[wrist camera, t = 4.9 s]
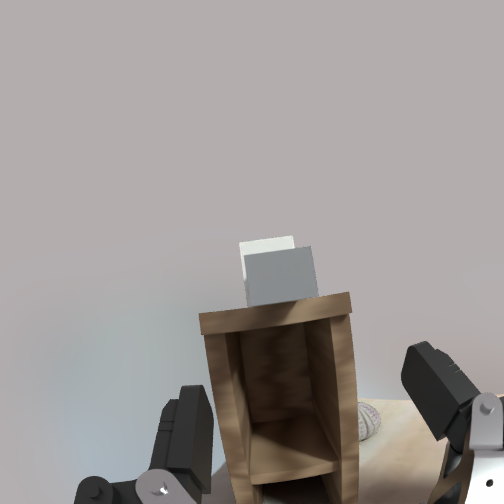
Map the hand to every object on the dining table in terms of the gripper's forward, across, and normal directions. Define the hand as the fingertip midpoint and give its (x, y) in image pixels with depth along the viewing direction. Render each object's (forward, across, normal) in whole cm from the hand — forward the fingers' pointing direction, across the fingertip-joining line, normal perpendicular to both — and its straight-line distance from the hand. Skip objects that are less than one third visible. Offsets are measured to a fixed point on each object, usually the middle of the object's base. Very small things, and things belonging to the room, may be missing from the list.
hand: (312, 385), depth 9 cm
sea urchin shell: (+24, -15, +48) cm, 55 cm away
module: (+16, 0, +5) cm, 17 cm away
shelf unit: (+7, 0, +37) cm, 38 cm away
